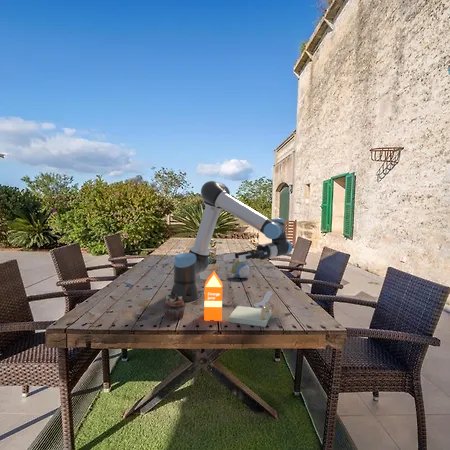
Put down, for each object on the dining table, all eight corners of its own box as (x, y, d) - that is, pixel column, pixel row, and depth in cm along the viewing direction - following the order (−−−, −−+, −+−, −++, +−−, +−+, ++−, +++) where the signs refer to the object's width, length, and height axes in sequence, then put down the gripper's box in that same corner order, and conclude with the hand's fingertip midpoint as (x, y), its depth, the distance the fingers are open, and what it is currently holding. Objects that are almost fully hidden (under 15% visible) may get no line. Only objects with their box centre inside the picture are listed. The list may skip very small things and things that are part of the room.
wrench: (252, 308, 144) (252, 306, 144) (262, 291, 175) (262, 290, 175) (269, 310, 142) (269, 308, 142) (277, 293, 172) (277, 291, 172)
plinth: (228, 321, 125) (228, 307, 125) (237, 309, 140) (238, 297, 140) (265, 326, 120) (266, 312, 120) (271, 314, 135) (271, 301, 135)
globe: (246, 258, 201) (248, 256, 216) (225, 264, 204) (229, 261, 218) (252, 277, 201) (253, 273, 215) (231, 282, 203) (233, 278, 218)
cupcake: (189, 316, 129) (190, 294, 129) (172, 322, 122) (172, 299, 122) (175, 311, 136) (176, 290, 135) (158, 316, 129) (158, 294, 128)
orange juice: (221, 313, 135) (222, 270, 134) (221, 320, 126) (223, 274, 125) (204, 313, 134) (205, 270, 133) (203, 320, 125) (204, 274, 125)
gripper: (284, 259, 137) (248, 267, 126) (252, 258, 159) (218, 265, 147) (282, 243, 137) (245, 250, 126) (250, 244, 159) (216, 250, 147)
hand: (231, 258), depth 137 cm, fingers open, 13 cm apart
